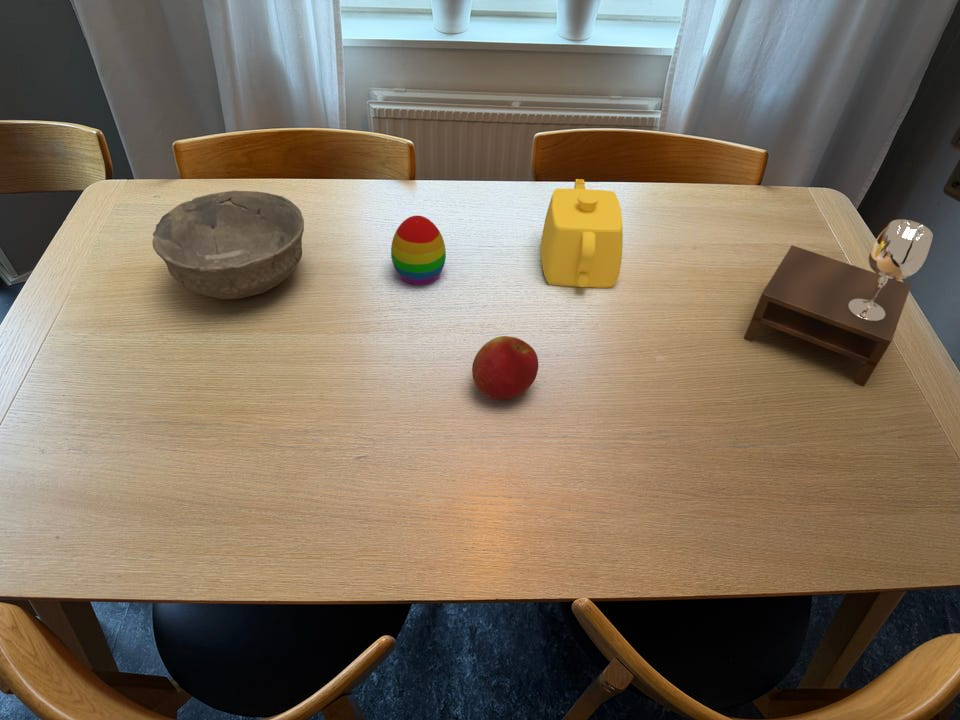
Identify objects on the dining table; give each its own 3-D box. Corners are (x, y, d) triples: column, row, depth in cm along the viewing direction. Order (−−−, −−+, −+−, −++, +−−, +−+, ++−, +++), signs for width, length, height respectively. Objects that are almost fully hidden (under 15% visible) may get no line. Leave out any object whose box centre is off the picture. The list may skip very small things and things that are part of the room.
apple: (527, 418, 81) (532, 372, 75) (464, 403, 82) (465, 357, 77) (540, 376, 86) (546, 330, 81) (481, 363, 88) (482, 317, 82)
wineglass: (868, 292, 87) (911, 213, 79) (901, 319, 83) (949, 239, 75) (833, 300, 86) (873, 221, 78) (864, 328, 82) (909, 247, 74)
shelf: (885, 329, 94) (911, 284, 89) (863, 386, 86) (891, 341, 80) (773, 288, 101) (791, 244, 95) (743, 338, 92) (761, 293, 87)
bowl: (343, 274, 101) (334, 218, 94) (235, 346, 89) (216, 288, 82) (253, 228, 110) (239, 174, 103) (143, 289, 98) (119, 231, 91)
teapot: (538, 223, 113) (545, 159, 104) (611, 227, 112) (623, 162, 104) (540, 296, 98) (547, 228, 90) (623, 300, 98) (637, 233, 90)
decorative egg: (391, 290, 99) (386, 233, 92) (394, 258, 104) (390, 203, 98) (446, 290, 99) (444, 233, 92) (446, 258, 105) (445, 203, 98)
